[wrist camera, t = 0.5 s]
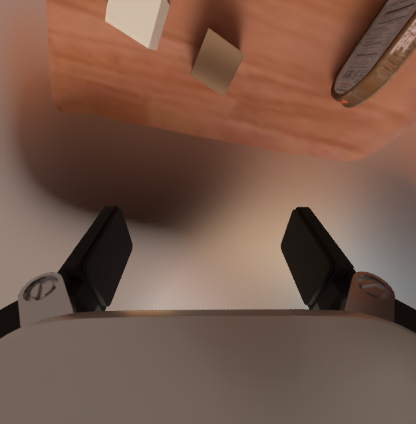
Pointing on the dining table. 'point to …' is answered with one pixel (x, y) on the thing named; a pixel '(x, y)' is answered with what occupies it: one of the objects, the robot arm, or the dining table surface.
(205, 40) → the walnut block
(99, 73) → the dining table surface
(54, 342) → the robot arm
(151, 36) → the off-white block
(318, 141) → the dining table surface
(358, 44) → the tin
